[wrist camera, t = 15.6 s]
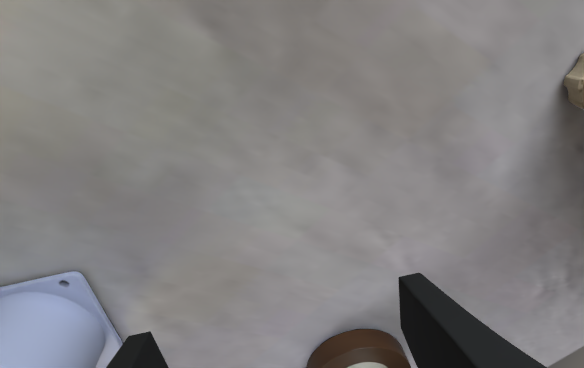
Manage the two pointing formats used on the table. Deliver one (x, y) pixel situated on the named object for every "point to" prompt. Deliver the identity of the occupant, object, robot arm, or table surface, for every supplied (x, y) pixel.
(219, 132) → the table surface
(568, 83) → the handle
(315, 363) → the joystick
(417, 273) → the robot arm
